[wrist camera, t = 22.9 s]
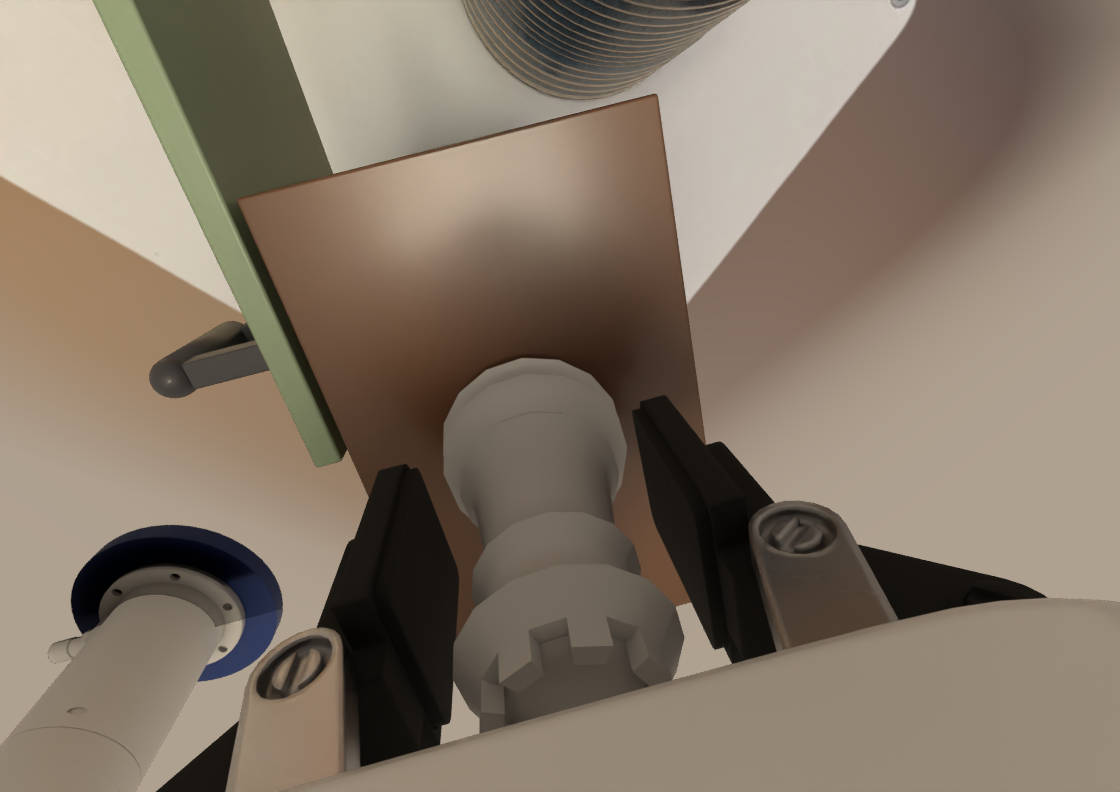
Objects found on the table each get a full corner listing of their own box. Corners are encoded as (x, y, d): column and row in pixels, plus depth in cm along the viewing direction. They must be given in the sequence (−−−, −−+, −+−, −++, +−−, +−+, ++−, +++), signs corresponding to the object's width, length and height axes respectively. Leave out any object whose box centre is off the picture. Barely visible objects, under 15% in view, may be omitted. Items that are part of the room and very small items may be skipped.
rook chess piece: (568, 317, 13) (672, 510, 6) (645, 458, 15) (799, 743, 8) (407, 407, 13) (313, 695, 6) (500, 534, 15) (515, 876, 8)
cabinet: (448, 360, 45) (387, 686, 17) (389, 181, 40) (147, 220, 11) (576, 326, 46) (727, 593, 17) (535, 144, 40) (658, 92, 11)
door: (272, 379, 23) (136, 516, 14) (80, -21, 17) (-353, -221, 8) (397, 347, 23) (342, 462, 14) (247, -61, 18) (-3, -299, 9)
